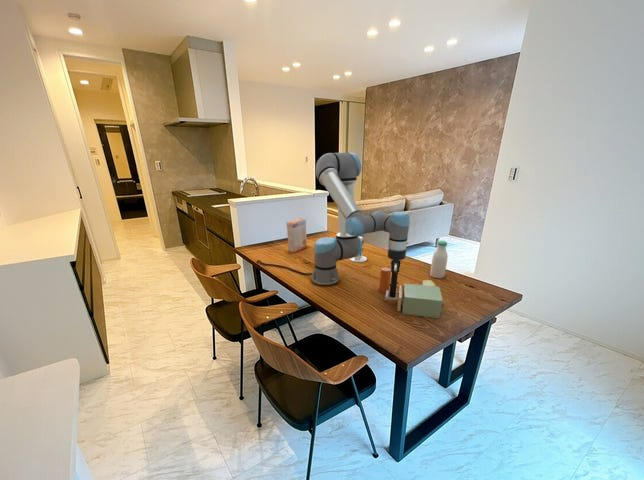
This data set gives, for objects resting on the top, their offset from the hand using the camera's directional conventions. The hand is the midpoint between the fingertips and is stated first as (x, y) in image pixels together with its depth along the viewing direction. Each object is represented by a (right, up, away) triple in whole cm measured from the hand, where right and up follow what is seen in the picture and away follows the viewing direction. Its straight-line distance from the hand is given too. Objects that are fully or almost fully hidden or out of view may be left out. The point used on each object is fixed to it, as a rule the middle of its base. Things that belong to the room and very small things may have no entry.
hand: (392, 297), depth 137 cm
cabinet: (+12, -5, -1) cm, 13 cm away
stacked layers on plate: (+20, +1, +12) cm, 24 cm away
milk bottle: (+33, +10, +31) cm, 46 cm away
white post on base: (-9, +21, +55) cm, 60 cm away
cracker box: (-50, +29, +73) cm, 93 cm away
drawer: (+7, -4, 0) cm, 8 cm away
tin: (-1, +2, +15) cm, 15 cm away
